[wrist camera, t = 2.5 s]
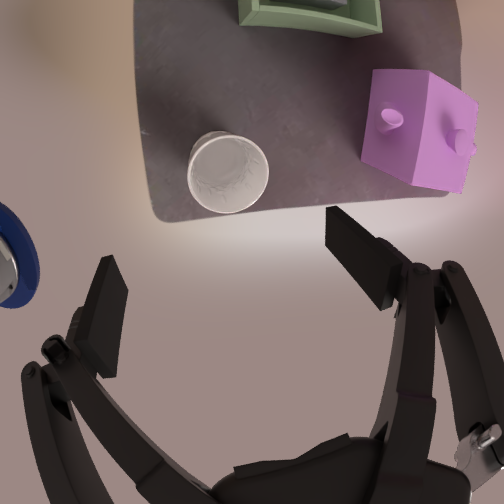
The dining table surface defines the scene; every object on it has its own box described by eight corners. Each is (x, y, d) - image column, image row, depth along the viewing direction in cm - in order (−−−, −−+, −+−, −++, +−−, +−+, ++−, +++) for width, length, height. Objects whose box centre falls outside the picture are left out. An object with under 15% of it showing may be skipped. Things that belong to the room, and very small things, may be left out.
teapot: (332, 56, 29) (400, 47, 18) (442, 100, 35) (502, 115, 24) (320, 155, 37) (380, 186, 25) (429, 173, 43) (484, 202, 31)
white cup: (251, 176, 36) (273, 202, 28) (194, 191, 36) (198, 222, 27) (240, 120, 32) (262, 127, 24) (179, 134, 31) (178, 147, 23)
